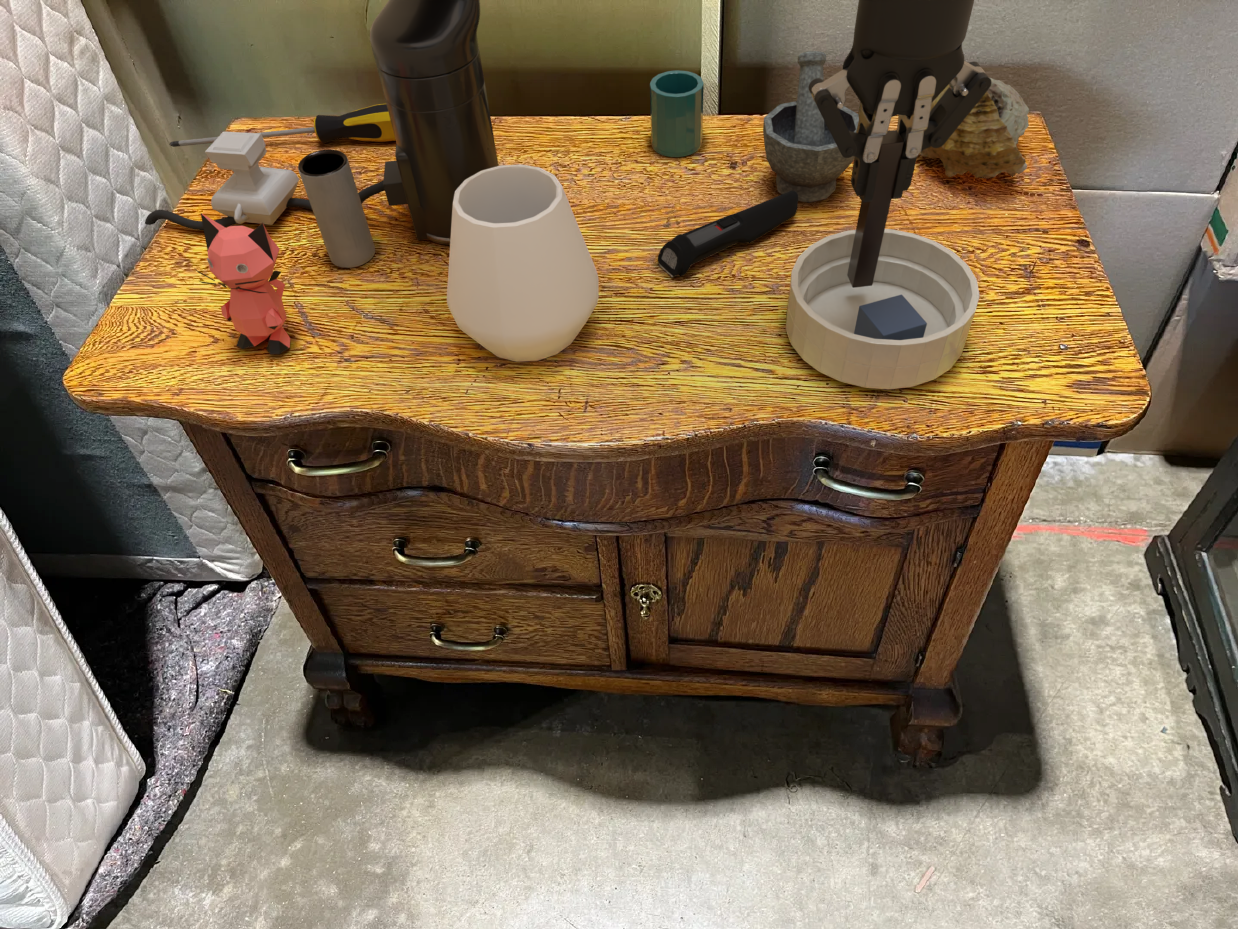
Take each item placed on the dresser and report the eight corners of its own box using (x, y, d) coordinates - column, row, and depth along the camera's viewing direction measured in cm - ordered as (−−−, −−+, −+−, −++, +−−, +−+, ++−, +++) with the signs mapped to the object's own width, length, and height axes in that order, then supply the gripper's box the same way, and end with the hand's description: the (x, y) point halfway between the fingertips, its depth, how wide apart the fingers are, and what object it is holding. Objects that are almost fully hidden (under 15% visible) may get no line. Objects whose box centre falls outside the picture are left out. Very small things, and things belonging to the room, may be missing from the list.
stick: (852, 288, 80) (881, 144, 69) (846, 275, 81) (874, 131, 70) (872, 286, 80) (904, 142, 69) (866, 272, 81) (897, 129, 70)
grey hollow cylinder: (383, 244, 92) (356, 152, 84) (361, 271, 89) (331, 178, 81) (344, 237, 93) (314, 145, 85) (321, 264, 90) (287, 171, 82)
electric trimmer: (805, 226, 90) (809, 198, 88) (677, 282, 85) (677, 254, 83) (781, 208, 92) (784, 181, 90) (654, 262, 88) (654, 234, 85)
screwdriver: (428, 125, 106) (180, 149, 108) (420, 97, 103) (166, 123, 105) (424, 140, 103) (171, 165, 105) (416, 112, 101) (157, 138, 103)
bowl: (809, 404, 74) (817, 354, 70) (768, 287, 84) (773, 238, 80) (990, 382, 75) (1008, 332, 71) (928, 269, 85) (941, 219, 81)
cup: (615, 285, 86) (606, 151, 75) (586, 385, 77) (572, 250, 66) (478, 275, 88) (451, 143, 77) (436, 371, 79) (399, 238, 68)
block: (875, 371, 76) (883, 335, 73) (851, 341, 78) (859, 305, 75) (917, 359, 76) (927, 323, 73) (893, 329, 79) (901, 293, 76)
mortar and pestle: (858, 211, 91) (878, 97, 82) (764, 214, 92) (773, 101, 83) (842, 150, 98) (859, 40, 89) (755, 153, 99) (763, 44, 90)
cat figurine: (212, 353, 81) (167, 230, 73) (256, 313, 86) (219, 194, 78) (281, 367, 79) (244, 242, 71) (322, 325, 84) (291, 205, 76)
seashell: (997, 30, 93) (918, 94, 101) (966, 81, 84) (882, 147, 92) (1062, 113, 95) (980, 169, 103) (1038, 171, 86) (950, 229, 94)
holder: (655, 159, 99) (654, 98, 94) (648, 133, 103) (646, 73, 97) (706, 154, 99) (707, 93, 94) (697, 127, 103) (698, 67, 98)
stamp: (273, 242, 93) (242, 168, 86) (215, 235, 94) (181, 162, 88) (311, 192, 98) (286, 120, 92) (256, 187, 100) (227, 115, 93)
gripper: (1002, -66, 62) (945, 160, 76) (805, -47, 62) (783, 178, 75) (1047, -21, 58) (978, 212, 71) (835, 0, 57) (805, 231, 70)
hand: (877, 194), depth 73 cm, fingers closed on stick, 2 cm apart
